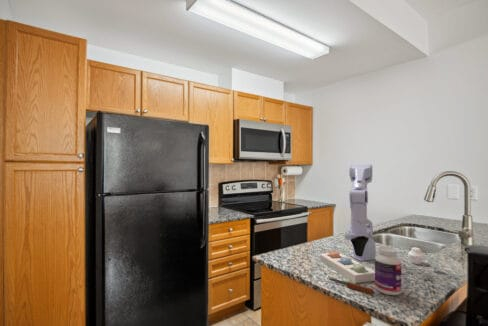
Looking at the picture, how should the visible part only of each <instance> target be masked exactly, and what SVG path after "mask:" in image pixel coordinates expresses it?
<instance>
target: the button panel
mask: <svg viewBox="0 0 488 326" xmlns="http://www.w3.org/2000/svg"><path fill="white" fill-rule="evenodd" d="M339 253H340V258H342V257H346V258H350V257H349V256H347V255H345V254H343V253H341V252H339ZM340 258H334V259H333V258H331V257H329V252H327V253H319V261H321V262H322V263H323V264H324V265H326V266H327V267H329V268H331V269H333V270H334V271H335V272H337V273H339V274H341V275H342V276H343V277H345V278H347V279H348V280H349V281H352V283H354V284H358V283H364V282H373V281H374V282H375V269H374V270H373V269H372V268H369V267H368V266H366V265H364V264H361V263H360V262H358V261H356V260H354V259H353V258H352V257H351V258H350V259H351V260H352V265H343V264H341V263H340ZM354 264H360V265H363V266H365V272H364V273H357V272H355V271H353V265H354Z"/></svg>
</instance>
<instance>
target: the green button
mask: <svg viewBox="0 0 488 326" xmlns="http://www.w3.org/2000/svg"><path fill="white" fill-rule="evenodd" d="M360 264H361V263H360ZM360 264H354V265H353V271H355V272H357V273H364V272H365V266H366V265H364V264H362V265H360ZM363 265H364V266H363Z"/></svg>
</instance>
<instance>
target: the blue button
mask: <svg viewBox="0 0 488 326" xmlns="http://www.w3.org/2000/svg"><path fill="white" fill-rule="evenodd" d="M351 259H352V258H351ZM351 259H350V257H349V258H346V257H342V258H340V263H341V264H343V265H352V260H353V259H352V260H351Z"/></svg>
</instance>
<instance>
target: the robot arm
mask: <svg viewBox="0 0 488 326" xmlns="http://www.w3.org/2000/svg"><path fill="white" fill-rule="evenodd" d="M348 171H349V178H350V181H351V183H352V184H351V191H349V194H348V195H349V205H350V207H349V209H350V222H349V224H350V225H349V230H348V232H347V233H345V235H344V239H345V240H347V241H350V242H351V244H352V247H353V248H352V253H350V254H348V256H350V257H351V258H353V259H355V260H357V261H361V262H362V261H363V262H364V261H371V260H375V256H376V255H377V254H376V252H377V251H376V250H377V249H376V246H377V245H376V241H375V240H374V239H373V238H374V237H373V236H374V235H373V233H374V230H373V229H374V227H373V222H372V221H371V220H370V219H368V214H367V213H368V208H367V207H368V204H369V192H368V184H369V183H372V180H373V165H372V164H350V165H349V170H348Z"/></svg>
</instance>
